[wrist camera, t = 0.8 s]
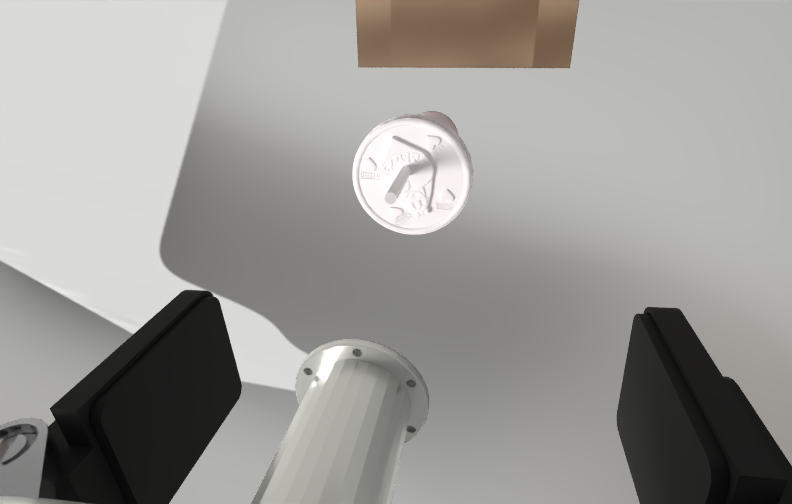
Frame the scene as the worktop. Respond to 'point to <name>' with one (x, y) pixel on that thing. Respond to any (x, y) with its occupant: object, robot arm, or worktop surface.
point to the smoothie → (413, 173)
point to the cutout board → (466, 33)
